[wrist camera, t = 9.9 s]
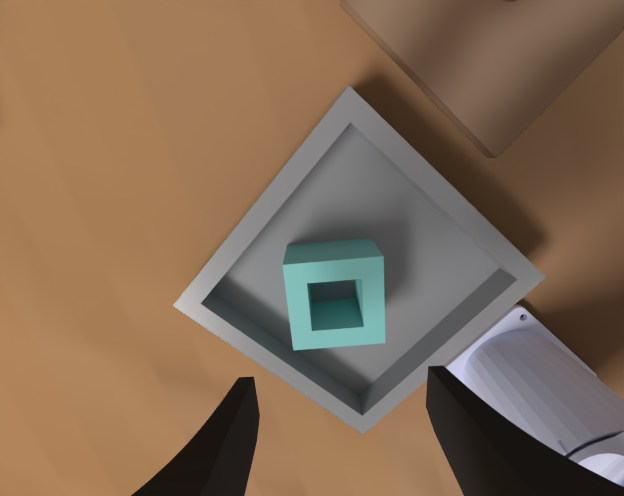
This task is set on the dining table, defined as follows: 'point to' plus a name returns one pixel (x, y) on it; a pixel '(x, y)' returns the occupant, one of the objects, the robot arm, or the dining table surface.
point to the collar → (338, 313)
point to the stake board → (491, 54)
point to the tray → (397, 279)
